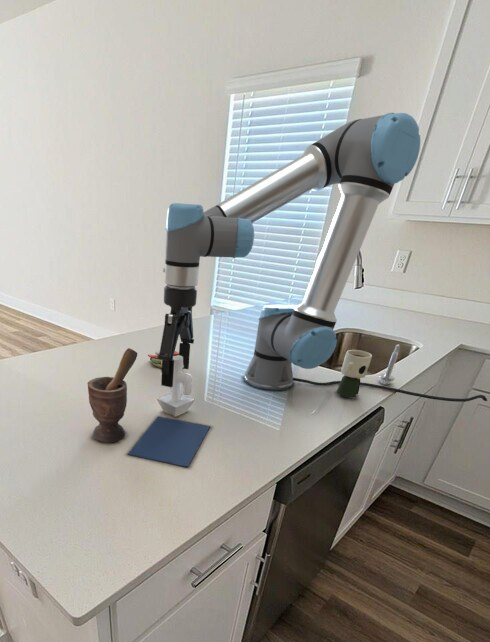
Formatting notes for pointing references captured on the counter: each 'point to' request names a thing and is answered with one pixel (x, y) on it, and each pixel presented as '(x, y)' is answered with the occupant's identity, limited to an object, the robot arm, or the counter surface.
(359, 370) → the character mug
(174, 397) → the figurine
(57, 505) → the counter surface
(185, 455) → the felt mat
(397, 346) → the screw
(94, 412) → the mortar and pestle
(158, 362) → the toy food set
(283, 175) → the robot arm
